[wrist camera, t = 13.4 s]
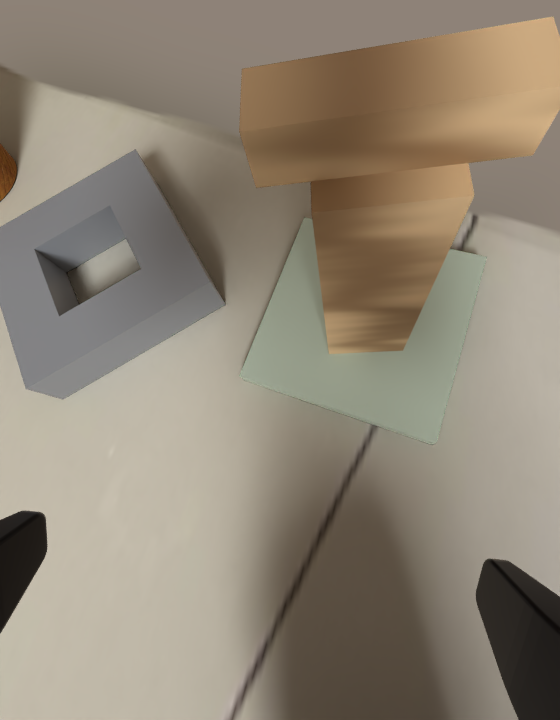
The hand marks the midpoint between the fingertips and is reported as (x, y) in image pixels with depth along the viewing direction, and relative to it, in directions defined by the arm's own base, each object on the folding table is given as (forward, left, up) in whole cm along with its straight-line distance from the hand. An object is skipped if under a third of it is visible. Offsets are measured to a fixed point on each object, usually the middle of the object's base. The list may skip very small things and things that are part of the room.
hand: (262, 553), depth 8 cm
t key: (+1, -11, -12) cm, 16 cm away
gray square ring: (+18, -9, -13) cm, 24 cm away
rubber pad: (+1, -11, -13) cm, 17 cm away
